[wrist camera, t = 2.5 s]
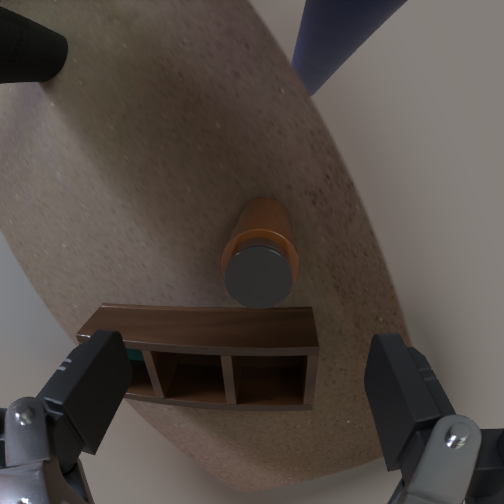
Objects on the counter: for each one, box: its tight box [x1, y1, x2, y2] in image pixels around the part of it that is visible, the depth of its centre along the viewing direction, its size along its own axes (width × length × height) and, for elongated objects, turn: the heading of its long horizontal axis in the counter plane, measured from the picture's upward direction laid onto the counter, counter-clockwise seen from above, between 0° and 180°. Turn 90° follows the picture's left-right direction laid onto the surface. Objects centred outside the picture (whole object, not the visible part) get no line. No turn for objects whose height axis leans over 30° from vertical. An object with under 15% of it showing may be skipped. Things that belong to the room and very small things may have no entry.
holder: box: [76, 303, 319, 411], centre depth 25 cm, size 7×20×6 cm, turn 92°
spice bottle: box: [221, 197, 299, 309], centre depth 19 cm, size 4×4×10 cm
